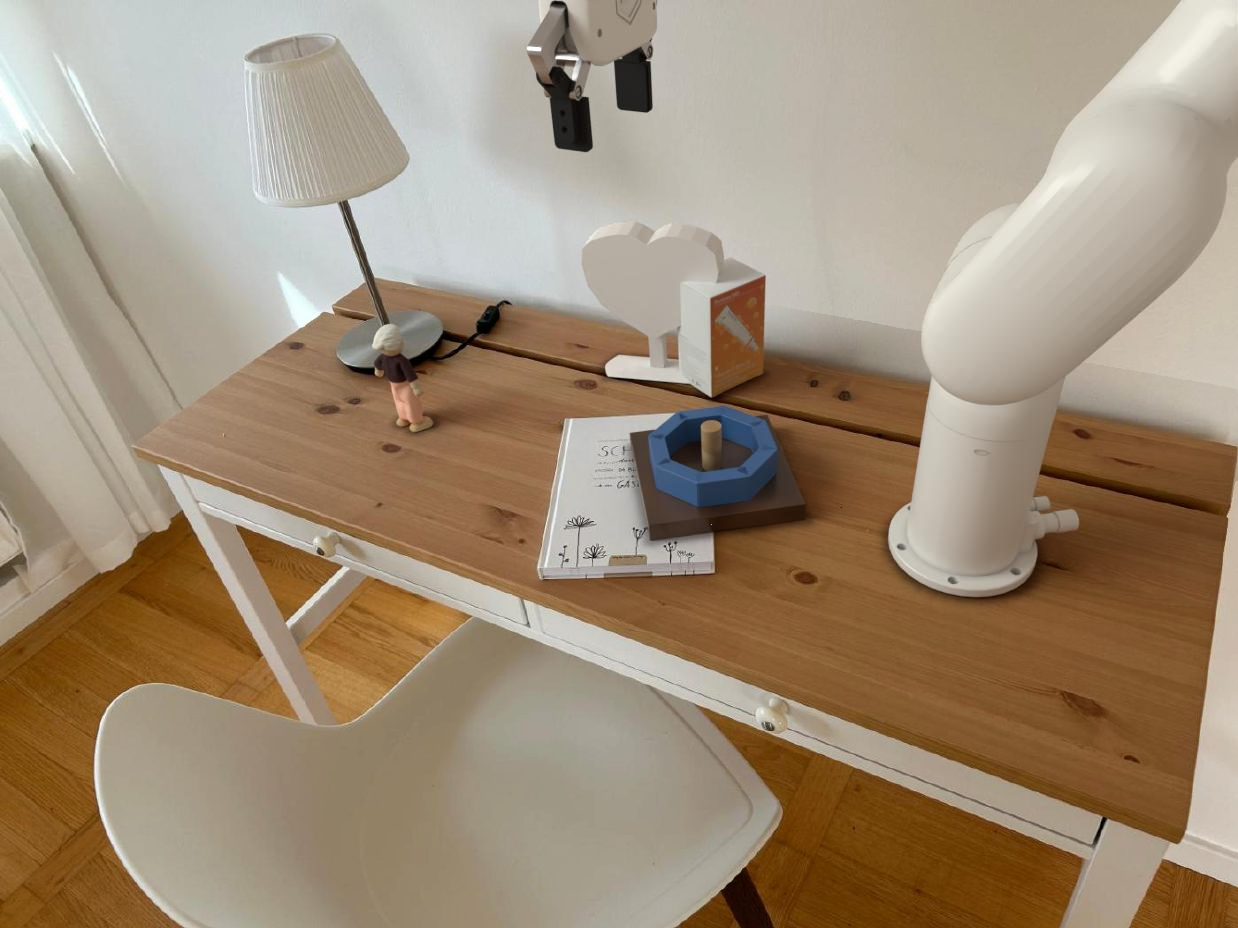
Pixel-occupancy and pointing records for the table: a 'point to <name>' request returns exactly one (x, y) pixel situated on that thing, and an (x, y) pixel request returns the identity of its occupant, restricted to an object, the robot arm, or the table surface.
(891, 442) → the table surface
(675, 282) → the heart sculpture
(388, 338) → the grandmother figurine
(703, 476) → the ring
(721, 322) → the small box
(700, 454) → the platform
